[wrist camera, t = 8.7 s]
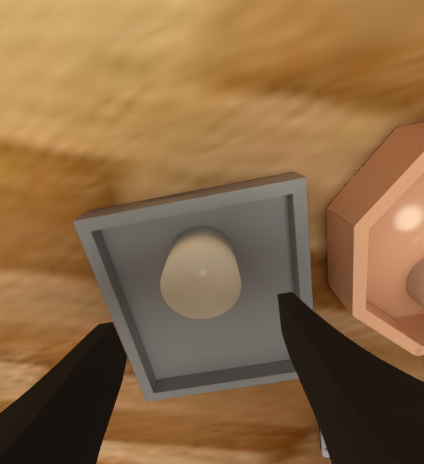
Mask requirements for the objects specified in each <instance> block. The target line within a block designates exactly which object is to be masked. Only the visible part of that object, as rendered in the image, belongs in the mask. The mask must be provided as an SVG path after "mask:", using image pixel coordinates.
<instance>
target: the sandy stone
mask: <svg viewBox="0 0 424 464" xmlns="http://www.w3.org/2000/svg"><path fill="white" fill-rule="evenodd" d="M160 288H161V293H162V296H163V298H164V300H165V302H166V303H167V304H168V305H169V306H170V307H171V308H172V309H173V310H174V311H175V312H177V313H179V314H181V315H183V316H185V317H188V318H193V319H209V318H213V317H216V316H219V315H221V314H223V313H225V312H226V311H228V310H229V309H230V308H231V307H232V306H233V305H234V304H235V302H236V301H237V299H238V297H239V295H240V291H241V278H240V274H239V270H238V265H237V261H236V257H235V252H234V248H233V245H232V243H231V241H230V240H229V238H228V237H227V236H226V235H225V234H224V233H222V232H221V231H219V230H217V229H215V228H212V227H208V226H195V227H191V228H189V229H186V230H184V231H183V232H181V233H180V234H179V235H178V236H177V237H176V238H175V239H174V241H173V242H172V244H171V247H170V250H169V253H168V257H167V260H166V263H165V266H164V269H163V273H162V276H161V281H160Z"/></svg>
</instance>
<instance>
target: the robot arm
mask: <svg viewBox="0 0 424 464" xmlns="http://www.w3.org/2000/svg"><path fill="white" fill-rule="evenodd" d="M277 296H278V305H279V314H280V323H281V332H282V335H283V338H284V342H285V345H286V348H287V351H288V354H289V357H290V359H291V361H292V364H293V366H294V368H295V371H296V373H297V375H298V377H299V380H300V382H301V384H302V386H303V389H304V391H305V393H306V396H307V398H308V400H309V402H310V405H311V407H312V409H313V412H314V414H315V417H316V419H317V422H318V424H319V427H320V436H321V452H322V455H323V456H324V457H326V458H328V457H330V459H331V462H332V464H424V382H422V381H420V380H418V379H416V378H414V377H412V376H410V375H409V374H407V373H405V372H403V371H401V370H399V369H397V368H396V367H394V366H392V365H390V364H388V363H386V362H385V361H383V360H381V359H380V358H378V357H376V356H375V355H373V354H371V353H370V352H368V351H367V350H365V349H363V348H362V347H360V346H359V345H357V344H356V343H354V342H353V341H351V340H350V339H349V338H347V337H346V336H344V335H343V334H342V333H340V332H339V331H338V330H336V329H335V328H334V327H332V326H331V325H330V324H329V323H327V322H326V321H325V320H324V319H322V318H321V317H320V316H319V315H318V314H316V313H315V312H314V311H313V310H312V309H311V308H309V307H308V306H307V305H306V304H305V303H304V302H303V301H302V300H301V299H300V298H299V297H297V296H296V295H295V294H294V293H293V292H288V293H282V294H277ZM126 359H127V356H126V353H125V351H124V348H123V346H122V344H121V341H120V339H119V336H118V334H117V331H116V329H115V327H114V324H113V322H110V323H104V324H99V325H98V326H97V327H95V328H94V329H93V330H92V331H91V332H90V333H89V334H88V335H87V336H86V337H85V338H84V339H83V340H82V341H81V342H80V343H79V344H77V345H76V346H75V347H74V348H73V349H72V350H71V351H70V352H69V353H68V354H67V355H66V356H65V357H64V358H63V359H62V360H61V361H60V362H59V363H58V364H57V365H56V366H55V367H53V368H52V369H51V370H50V371H49V372H48V373H47V374H46V375H45V376H44V377H42V378H41V379H40V380H39V381H38V382H37V383H36V384H35V385H34V386H33V387H31V388H30V389H29V390H28V391H27V392H26V393H24V394H23V395H22V396H21V397H20V398H18V399H17V400H16V401H15V402H13V403H12V404H11V405H10V406H8V407H7V408H6V409H5V410H3V411H2V412H1V413H0V464H96V462H97V458H98V454H99V451H100V447H101V444H102V441H103V438H104V435H105V432H106V429H107V426H108V423H109V420H110V417H111V414H112V411H113V408H114V405H115V402H116V399H117V396H118V393H119V390H120V386H121V383H122V380H123V375H124V370H125V365H126Z"/></svg>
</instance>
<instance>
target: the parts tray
mask: <svg viewBox="0 0 424 464" xmlns="http://www.w3.org/2000/svg"><path fill="white" fill-rule="evenodd" d="M73 223H74V226H75V228H76V231H77V233H78V236H79V238H80V241H81V243H82V245H83V248H84V250H85V253H86V255H87V258H88V260H89V263H90V265H91V267H92V270H93V272H94V275H95V277H96V280H97V282H98V285H99V287H100V289H101V292H102V294H103V297H104V299H105V302H106V304H107V306H108V309H109V311H110V314H111V316H112V319H113V321H114V324H115V326H116V328H117V331H118V333H119V336H120V338H121V341H122V343H123V346H124V348H125V350H126V353H127V355H128V358H129V360H130V363H131V365H132V367H133V370H134V372H135V375H136V377H137V380H138V382H139V385H140V387H141V389H142V392H143V394H144V397H145V399H146V402H148V401H155V400H162V399H168V398H175V397H182V396H188V395H195V394H201V393H208V392H215V391H221V390H228V389H235V388H241V387H248V386H255V385H261V384H268V383H275V382H281V381H288V380H295V379H299V377H298V375H297V373H296V371H295V368H294V366H293V364H292V361H291V359H290V357H289V354H288V351H287V348H286V345H285V342H284V338H283V335H282V332H281V323H280V314H279V305H278V296H277V294H282V293H288V292H293V293H294V294H295V295H296V296H297V297H299V298H300V299H301V300H302V301H303V302H304V303H305V304H306V305H307V306H308V307H309V308H311V309H312V310H313V301H312V281H311V262H310V243H309V224H308V204H307V185H306V177H304V176H302V175H300V174H298V173H296V172H292V173H287V174H281V175H276V176H271V177H266V178H260V179H255V180H250V181H245V182H239V183H234V184H229V185H224V186H218V187H213V188H208V189H202V190H197V191H192V192H187V193H181V194H176V195H171V196H166V197H160V198H155V199H150V200H145V201H139V202H134V203H129V204H124V205H118V206H113V207H108V208H102V209H97V210H92V211H87V212H86V213H84V214H83V215H81V216H80V217H78V218H77V219H75V220H74V221H73ZM195 226H208V227H212V228H215V229H217V230H219V231H221V232H222V233H224V234H225V235H226V236H227V237H228V238H229V240H230V241H231V243H232V245H233V248H234V252H235V257H236V261H237V265H238V270H239V274H240V278H241V291H240V295H239V297H238V299H237V301H236V302H235V304H234V305H233V306H232V307H231V308H230V309H229V310H228V311H226V312H225V313H223V314H221V315H219V316H216V317H213V318H209V319H193V318H188V317H185V316H183V315H181V314H179V313H177V312H175V311H174V310H173V309H172V308H171V307H170V306H169V305H168V304H167V303H166V302H165V300H164V298H163V296H162V293H161V288H160V281H161V276H162V273H163V269H164V266H165V263H166V260H167V257H168V253H169V250H170V247H171V244H172V242H173V241H174V239H175V238H176V237H177V236H178V235H179V234H180V233H181V232H183V231H184V230H186V229H189V228H191V227H195Z"/></svg>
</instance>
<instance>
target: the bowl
mask: <svg viewBox="0 0 424 464" xmlns="http://www.w3.org/2000/svg"><path fill="white" fill-rule="evenodd" d="M326 226H327V267H328V285H329V286H330V288H331V289H332V290H333V292H334V293H335V294H336V295H337V297H338V298H339V299H340V300H341V302H342V303H343V304H344V305H345V307H346V308H347V309H348V311H349V312H350V313H351V314H352V316H354V317H355V318H357V319H358V320H360V321H361V322H363V323H365V324H366V325H368V326H369V327H371V328H372V329H374V330H376V331H377V332H379V333H380V334H382V335H383V336H385V337H387V338H388V339H390V340H391V341H393V342H394V343H396V344H398V345H399V346H401V347H402V348H404V349H405V350H407V351H409V352H410V353H412V354H413V355H415V356H418V355H424V308H423V307H422V306H421V305H420V304H418V303H417V302H416V301H415V300H413V299H412V298H411V297H410V296H409V294H408V292H407V289H406V282H407V278H408V275H409V273H410V272H411V270H412V269H413V267H414V266H415V265H416V264H417V263H418V262H419V261H420V260H422V259H423V258H424V122H421V123H415V124H410V125H405V126H400V127H397V128H395V129H394V131H393V132H392V133H391V134H390V135H389V136H388V138H387V139H386V140H385V141H384V142H383V143H382V144H381V146H380V147H379V148H378V149H377V150H376V151H375V152H374V154H373V155H372V156H371V157H370V158H369V159H368V161H367V162H366V163H365V164H364V165H363V166H362V167H361V169H360V170H359V171H358V172H357V173H356V174H355V176H354V177H353V178H352V179H351V180H350V181H349V182H348V184H347V185H346V186H345V187H344V188H343V189H342V190H341V192H340V193H339V194H338V195H337V196H336V197H335V199H334V200H333V201H332V202H331V203H330V204H329V205H328V207H327V208H326Z"/></svg>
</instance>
